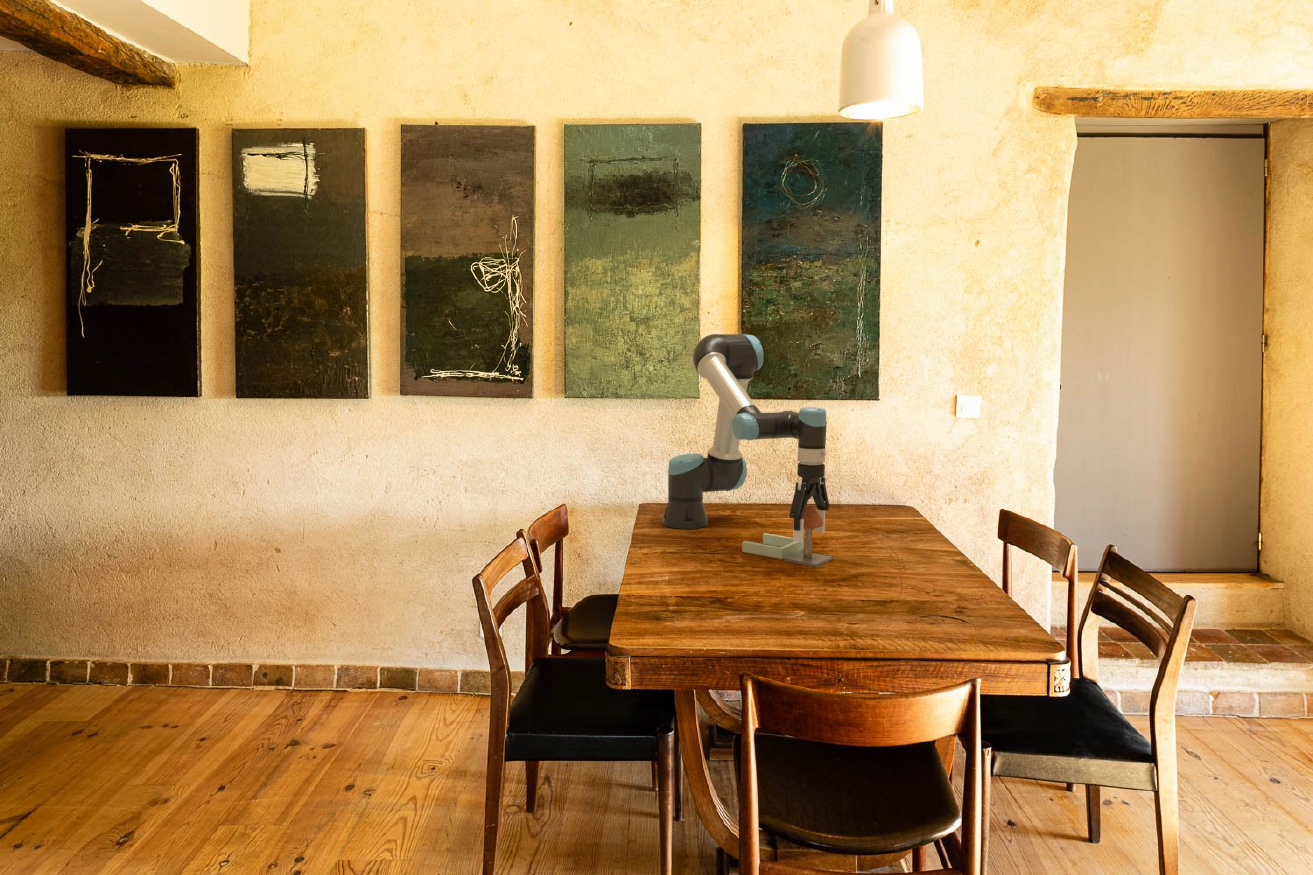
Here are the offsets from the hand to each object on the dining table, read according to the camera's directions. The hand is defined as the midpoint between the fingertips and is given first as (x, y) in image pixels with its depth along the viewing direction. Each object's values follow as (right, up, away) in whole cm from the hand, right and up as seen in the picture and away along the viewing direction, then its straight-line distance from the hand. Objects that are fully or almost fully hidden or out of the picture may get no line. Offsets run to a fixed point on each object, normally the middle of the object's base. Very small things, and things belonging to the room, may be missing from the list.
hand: (809, 537), depth 233 cm
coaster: (0, -7, +1) cm, 7 cm away
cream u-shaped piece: (-9, -5, +11) cm, 15 cm away
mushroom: (0, -6, +1) cm, 6 cm away
